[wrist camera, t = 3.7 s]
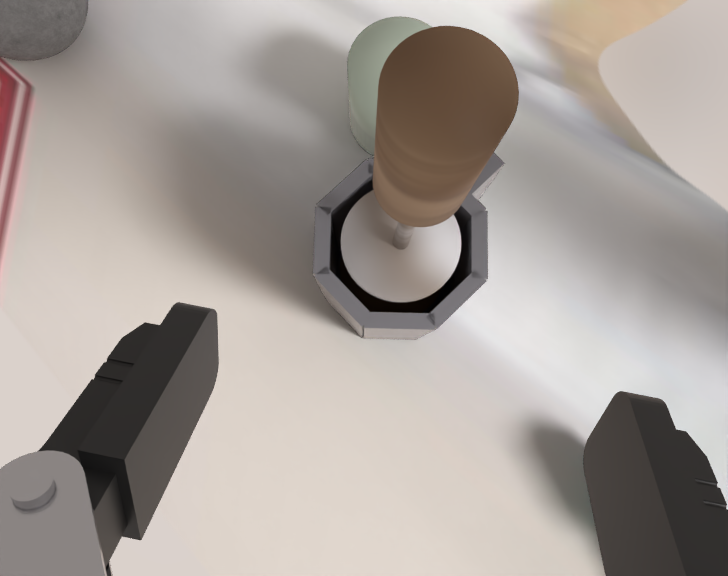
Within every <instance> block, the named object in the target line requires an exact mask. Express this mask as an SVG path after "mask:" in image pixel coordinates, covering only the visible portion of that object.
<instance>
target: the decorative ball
mask: <svg viewBox="0 0 728 576" xmlns="http://www.w3.org/2000/svg"><path fill="white" fill-rule="evenodd" d="M87 10H88V0H0V56H1V57H5V58H9V59H14V60H24V61H27V60H38V59H44V58H48V57H51V56H54V55H56V54H58V53H60V52H62V51H63V50H65V49H66V48H67V47H68V46H70V45H71V44H72V43H73V42H74V41H75V39H76V38H77V37H78V36H79V34H80V32H81V30H82V28H83V26H84V23H85V20H86V16H87Z"/></svg>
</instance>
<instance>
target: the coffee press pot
mask: <svg viewBox="0 0 728 576" xmlns="http://www.w3.org/2000/svg"><path fill="white" fill-rule="evenodd" d="M503 165H504V162H503V161H502V160H501V159H500V158H499V157H498V156H497V155H496V154H495V153H494V152H493V154H492V156H491V157H490V159H489V161H488V162H487V164H486V165H485V167H484V169H483V170H482V172H481V174H480V175H479V177H478V178H477V180H476V182H475V183H474V185H473V187H472V188H471V190H470V191H469V193H468V195H467V196H466V198H465V200H464V201H463V203H462V204H461V206H460V207H459V209H458V210H457V211H456V212H455V213H454V216H455V218H456V220H457V223H458V226H459V229H460V234H461V252H460V257H459V261H458V264H457V266H456V268H455V270H454V272H453V274H452V275H451V277H450V278H449V279H448V281H447V282H446V283H445V284H444V285H443V286H442V287H441V288H440V289H438V290H437V291H436V292H434V293H433V294H431V295H430V296H428V297H426V298H423V299H421V300H417V301H414V302H408V303H395V302H388V301H384V300H381V299H378V298H376V297H374V296H372V295H370V294H368V293H367V292H366V291H364V290H363V289H362V288H361V287H360V286H358V285H357V283H356V282H355V281H354V280H353V279H352V277H351V276H350V274H349V273H348V271H347V268H346V266H345V264H344V260H343V257H342V251H341V232H342V228H343V224H344V222H345V219H346V217H347V215H348V213H349V211H350V210H351V209H352V207H353V206H354V205H355V204H356V203H357V202H358V200H359V199H361V198H362V197H363V196H364V195H366V194H367V193H369V192H371V191H372V190H374V189H373V166H374V158H368V161H367V160H365V161H364V162H362V163H361V164H360V165H359V166H358V167H357V168H356V169H355V170H354V171H353V172H352V173H350V174H349V175H348V176H347V177H346V178H345V179H344V180H343V181H342V182H341V183H339V184H338V185H337V186H336V187H335V188H334V189H333V190H332V191H331V192H330V193H328V194H327V195H326V196H325V197H324V198H323V199H322V200H321V201H320V202H319V203H317V207H315V233H314V260H313V275H314V278H315V280H316V281H317V283H318V285H319V287H320V289H321V291H322V293H323V295H324V297H325V298H326V300H327V301H328V303H329V304H330V305H331V306H332V307H333V308H334V309H335V310H336V311H337V312H338V313H339V314H340V315H341V316H342V317H343V318H344V319H345V320H346V322H347V323H348V324H349V325H350V326H351V327H352V328H353V329H354V330H355V331H356V332H357V333H358V334H359V335H360V336H361V337H363V336H364V338H365V339H405V340H416V339H418V338H420V337H422V336H424V335H426V334H428V333H430V332H432V331H434V330H436V329H437V328H439V327H440V326H441V325H442V324H443V323H444V322H445V321H446V320H447V319H448V318H449V317H450V316H451V315H452V314H453V313H454V312H455V311H456V310H457V309H458V308H459V307H460V306H461V305H462V304H463V303H464V302H465V301H466V300H467V299H468V298H469V297H471V296H472V295H473V294H474V293H475V292H476V291H477V290H478V289H479V288H480V287H481V286H482V285H483V284H484V283H485V282H486V279H488V242H487V211H485V210H486V208H485V207H484V206H483V205H482V204H481V203H480V202H479V201H478V199H479V198H481V196H482V195H483V193H484V192H485V190H486V189H487V188H488V186H489V185H490V183H491V182H492V180H493V179H494V178H495V176H496V175H497V173H498V172H499V171H500V169H501V168H502V166H503Z"/></svg>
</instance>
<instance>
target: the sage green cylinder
mask: <svg viewBox="0 0 728 576" xmlns="http://www.w3.org/2000/svg"><path fill="white" fill-rule="evenodd" d="M428 28H432V27H431V26H430V25H428V24H427V23H424V22H422V21H420V20H417V19H414V18H409V17H390V18H385V19H382V20H379V21H377V22H375V23H373V24H371V25H369V26H368V27H367V28H365V29H364V30H363V31H362V32H361V33H360V34H359V35H358V37H357V38H356V39H355V41H354V42H353V44H352V46H351V49H350V51H349V55H348V61H347V72H348V92H349V113H350V126H351V130H352V133H353V135H354V137H355V139H356V141H357V142H358V144H359V145H360V146H361V147H362V148H363V149H364V150H365V151H367V152H368V153H370V154H371V155H373V156H374V149H375V132H376V114H377V97H378V84H379V78H380V73H381V70H382V68H383V65H384V63H385V61H386V60H387V58H388V56H389V55H390V53H391V52H392V51H393V50H394V49H395V48H396V47H397V45H398V44H399V43H401V42H402V41H403V40H405V39H406V38H407V37H409V36H411V35H413V34H414V33H417V32H419V31H421V30H425V29H428Z"/></svg>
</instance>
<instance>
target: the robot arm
mask: <svg viewBox="0 0 728 576" xmlns="http://www.w3.org/2000/svg"><path fill="white" fill-rule="evenodd" d="M218 364H219V360H218V327H217V313H216V311H215V310H214V309H210V308H205V307H200V306H195V305H190V304H185V303H180V302H178V303H176V304H175V305H173V307H172V308H171V310H170V311H169V313H168V314H167V316H166V317H165V319H164V320H163V322H162V323H161V325H155V324H150V323H144V324H142V325H141V326H139V327H138V328H136V329H135V330H133V331H132V332H130V333H129V334H127V335H126V336H124V337H123V338H122V339H121V340H120V341H119V343H118V344H117V345H116V347H115V348H114V350H113V351H112V352H111V354H110V355H109V356H108V358H107V362H106V363H105V362H104V363H103V365H102V366H101V367H100V369H99V370H98V372H97V373H96V374H95V378H94V380H93V379H92V380H91V381H90V383H89V384H88V385H87V387H86V388H85V389H84V391H83V392H82V394H81V395H80V396H79V398H78V399H77V400H76V402H75V403H74V405H73V406H72V407H71V409H70V410H69V411H68V413H67V414H66V416H65V417H64V418H63V420H62V421H61V422H60V424H59V425H58V427H57V428H56V429H55V431H54V432H53V434H52V435H51V436H50V438H49V439H48V440H47V442H46V443H45V444H44V445H43V446H42V448H41V449H40V450H39V451H37V452H34V453H30V454H27V455H24V456H21V457H19V458H17V459H15V460H13V461H11V462H9V463H8V464H6V465H5V466H3V467H2V468H1V469H0V576H113V574H112V570H111V565H110V561H109V560H110V558H111V556H112V554H113V553H114V550H115V549H116V547H117V545H118V543H119V541H120V539H121V537H122V536H123V537H128V538H132V539H137V540H142V537H143V535H144V533H145V531H146V529H147V527H148V525H149V523H150V521H151V519H152V517H153V514H154V512H155V510H156V508H157V506H158V504H159V502H160V500H161V498H162V496H163V494H164V491H165V489H166V487H167V485H168V483H169V481H170V479H171V477H172V475H173V473H174V471H175V468H176V466H177V464H178V462H179V460H180V458H181V456H182V454H183V452H184V450H185V448H186V446H187V443H188V441H189V439H190V437H191V435H192V433H193V431H194V429H195V427H196V425H197V423H198V420H199V418H200V416H201V414H202V412H203V410H204V408H205V406H206V404H207V402H208V400H209V397H210V395H211V393H212V391H213V388H214V385H215V382H216V378H217V373H218ZM583 465H584V473H585V478H586V482H587V487H588V492H589V497H590V502H591V507H592V511H593V516H594V521H595V526H596V531H597V536H598V541H599V545H600V550H601V555H602V560H603V565H604V570H605V574H606V576H728V510H727V509H726V505H727V504H726V501H725V499H724V496H723V494H722V492H721V489H720V488H717V483H718V482H717V480H716V477H715V475H714V473H713V470H712V468H711V466H710V463H709V461H708V458H707V456H706V455H705V454H704V453H703V451H702V450H701V449H700V448H699V447H698V445H697V444H696V443H695V442H694V441H693V439H692V438H691V437H690V436H689V434H688V433H687V432H686V431H681V430H676V428H675V426H674V423H673V421H672V418H671V416H670V413H669V410H668V408H667V406H666V404H665V402H664V401H663V400H661V399H659V398H653V397H648V396H643V395H638V394H633V393H628V392H623V391H620V392H618V393H616V394H615V396H614V397H613V398H612V400H611V402H610V403H609V405H608V407H607V408H606V410H605V412H604V413H603V415H602V416H601V418H600V420H599V421H598V423H597V425H596V426H595V428H594V430H593V431H592V433H591V434H590V436H589V438H588V440H587V442H586V446H585V450H584V458H583Z"/></svg>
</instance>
